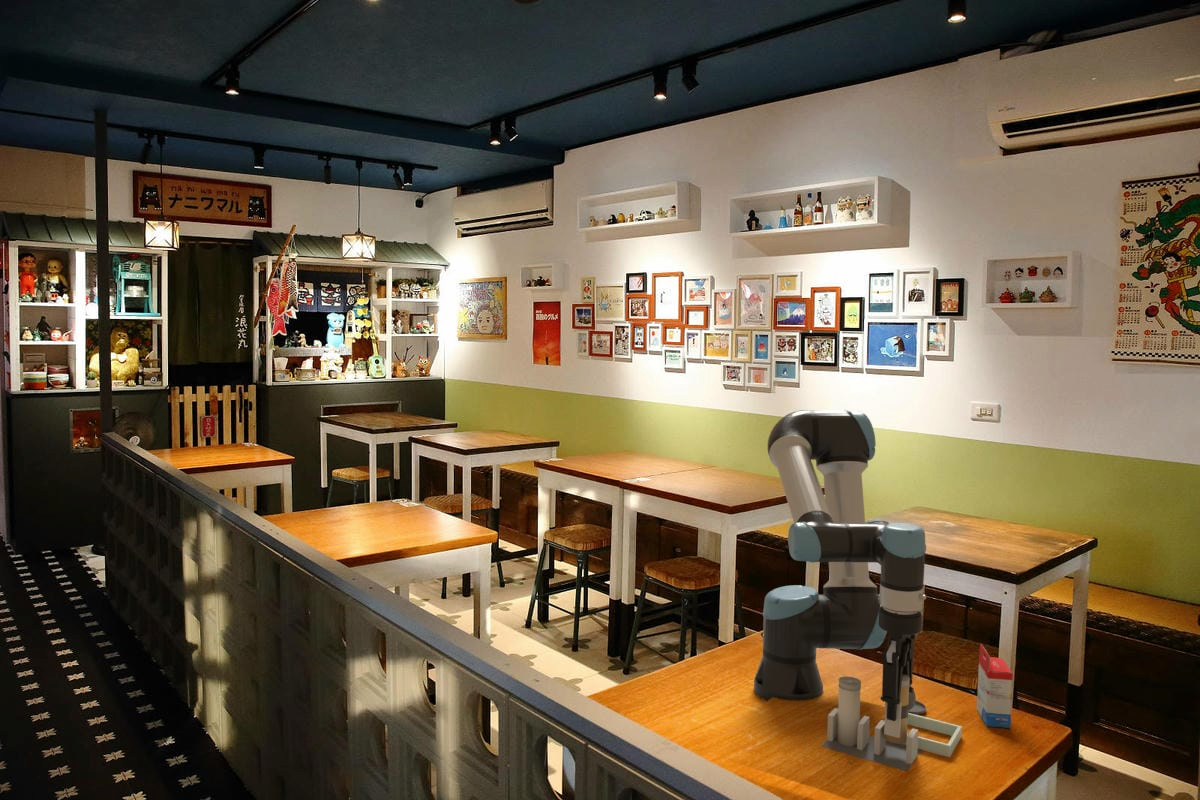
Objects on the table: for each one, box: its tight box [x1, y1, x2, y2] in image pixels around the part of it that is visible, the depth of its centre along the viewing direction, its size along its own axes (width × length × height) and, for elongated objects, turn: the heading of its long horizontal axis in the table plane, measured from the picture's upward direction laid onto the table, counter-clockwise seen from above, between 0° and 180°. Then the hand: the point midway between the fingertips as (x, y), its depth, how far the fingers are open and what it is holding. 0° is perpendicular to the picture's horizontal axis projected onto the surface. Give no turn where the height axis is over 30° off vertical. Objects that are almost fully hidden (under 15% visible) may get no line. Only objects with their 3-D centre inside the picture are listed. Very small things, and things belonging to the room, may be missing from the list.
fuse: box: [837, 676, 862, 746], centre depth 162 cm, size 4×4×12 cm
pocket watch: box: [908, 684, 927, 715], centre depth 179 cm, size 8×8×10 cm
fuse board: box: [821, 707, 923, 772], centre depth 160 cm, size 16×10×6 cm, turn 55°
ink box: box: [976, 643, 1014, 729], centre depth 176 cm, size 8×5×15 cm, turn 168°
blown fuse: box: [884, 673, 910, 744], centre depth 157 cm, size 4×4×12 cm
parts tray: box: [903, 713, 963, 758], centre depth 164 cm, size 12×10×4 cm
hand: (895, 729), depth 157 cm, fingers closed on blown fuse, 4 cm apart
